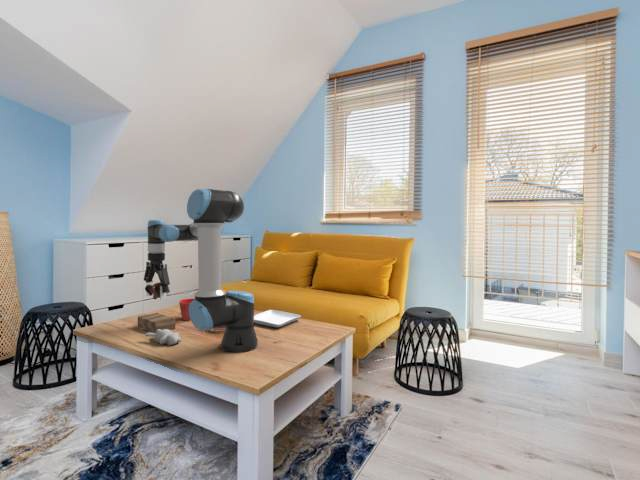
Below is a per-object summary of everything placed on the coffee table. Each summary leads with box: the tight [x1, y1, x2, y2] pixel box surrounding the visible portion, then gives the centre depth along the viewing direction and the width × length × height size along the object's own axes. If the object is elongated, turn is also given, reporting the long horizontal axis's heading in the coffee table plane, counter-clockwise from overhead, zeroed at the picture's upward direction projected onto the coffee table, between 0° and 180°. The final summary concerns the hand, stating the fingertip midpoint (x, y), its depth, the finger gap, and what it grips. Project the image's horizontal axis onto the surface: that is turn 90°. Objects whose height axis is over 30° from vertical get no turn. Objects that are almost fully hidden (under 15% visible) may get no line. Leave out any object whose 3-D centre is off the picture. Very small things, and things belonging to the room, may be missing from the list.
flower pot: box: [179, 298, 195, 322], centre depth 198 cm, size 11×11×10 cm
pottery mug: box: [144, 281, 171, 301], centre depth 180 cm, size 12×10×8 cm
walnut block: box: [137, 312, 176, 333], centre depth 180 cm, size 16×10×5 cm, turn 54°
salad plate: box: [254, 309, 302, 328], centre depth 195 cm, size 21×21×3 cm
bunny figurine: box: [145, 329, 182, 346], centre depth 160 cm, size 10×5×15 cm
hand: (156, 297), depth 180 cm, fingers closed on pottery mug, 11 cm apart
